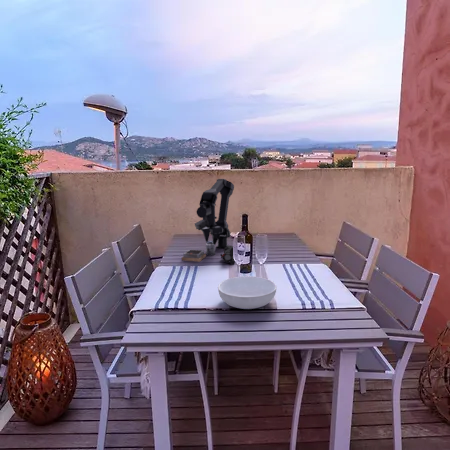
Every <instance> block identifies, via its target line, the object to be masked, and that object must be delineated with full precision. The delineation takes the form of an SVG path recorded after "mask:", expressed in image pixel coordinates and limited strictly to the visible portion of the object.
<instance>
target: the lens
mask: <svg viewBox="0 0 450 450" xmlns="http://www.w3.org/2000/svg"><path fill="white" fill-rule="evenodd" d="M205 254H206V256H214V255H216V244H215V245H214V244H213V240H208V241H206V240H205Z"/></svg>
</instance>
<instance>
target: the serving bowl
mask: <svg viewBox="0 0 450 450" xmlns="http://www.w3.org/2000/svg"><path fill="white" fill-rule="evenodd" d="M277 287H278V286H277V284H276V283H275V282H274V281H272V280H271V279H268V278H265V277H260V276H253V275H252V276H251V275H249V276H248V275H247V276H245V275H244V276H235V277H230V278H227V279H224V280H223V281H221V282H220V283H219V284H218V287H217V289H218V294H219V297H220V299H222V301H223V302H224V303H225V304H227V305H228V306H231V307H233V308H237V309H241V310H242V309H243V310H252V309H253V310H254V309H259V308H262V307H265V306H266V305H268V304H269V303H270V302H272V301H273V299H274V298H275V297H276V293H277Z"/></svg>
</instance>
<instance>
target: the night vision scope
mask: <svg viewBox="0 0 450 450" xmlns="http://www.w3.org/2000/svg"><path fill="white" fill-rule="evenodd" d="M233 247H234V246H233V245H229V246H227V247H226V248H223V249H224V250H223V254H222V253H221V254H220V258H221V259H222V261H224V262H225V263H230V265H234V264H235V262H236V260H235V261H234V259H233Z"/></svg>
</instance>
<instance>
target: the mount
mask: <svg viewBox="0 0 450 450" xmlns="http://www.w3.org/2000/svg"><path fill="white" fill-rule="evenodd" d="M206 257H207V255H206V253H205V250H201V249H188V250H186V251H185V252H183V256H182V257H181V261H186V262H198V263H200V262H202V261H203V260H204V259H206Z"/></svg>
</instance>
